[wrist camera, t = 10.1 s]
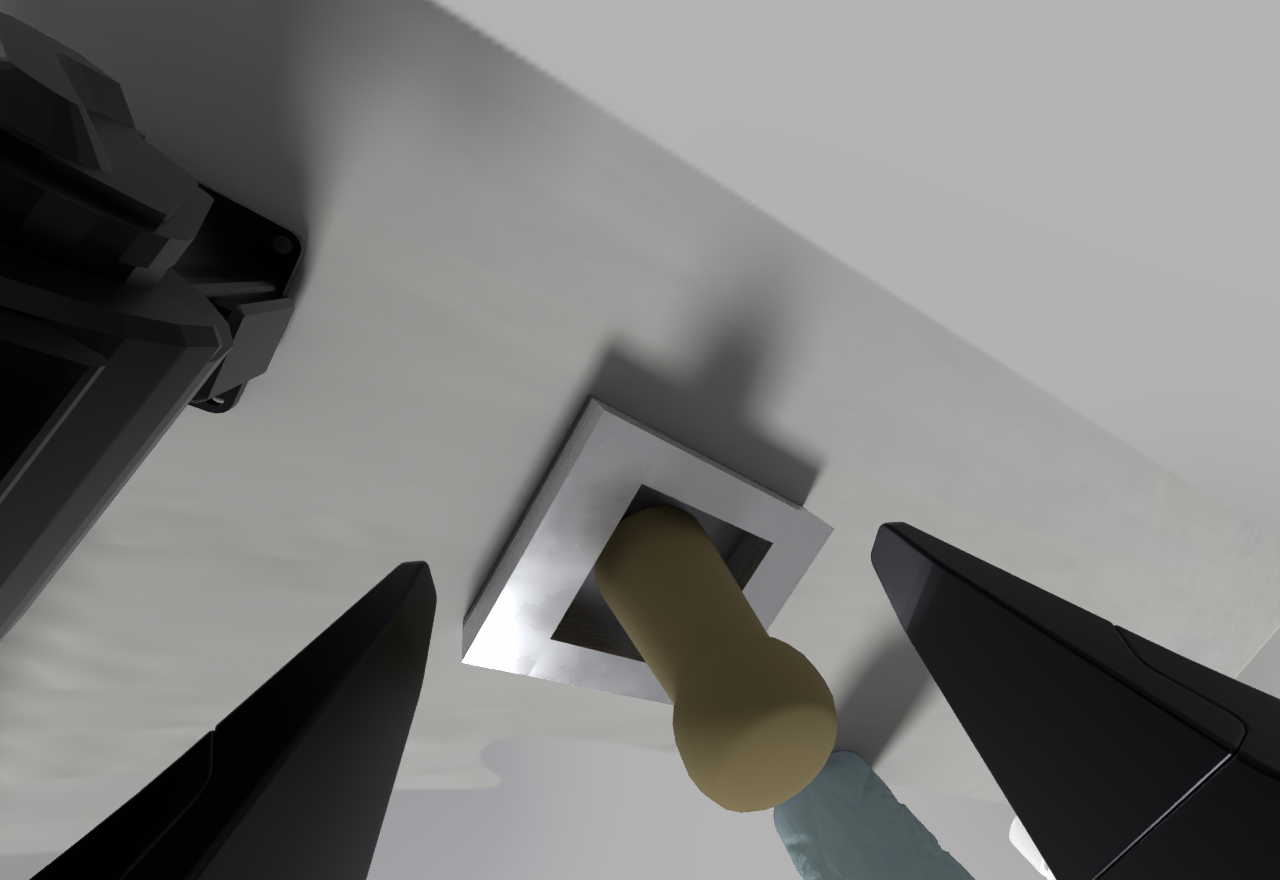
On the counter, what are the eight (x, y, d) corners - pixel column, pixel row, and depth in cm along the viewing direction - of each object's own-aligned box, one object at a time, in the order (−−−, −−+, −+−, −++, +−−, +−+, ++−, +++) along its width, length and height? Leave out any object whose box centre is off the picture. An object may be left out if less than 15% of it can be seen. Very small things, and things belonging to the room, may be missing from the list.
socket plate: (462, 621, 21) (461, 673, 19) (589, 394, 20) (609, 414, 17) (692, 677, 28) (717, 722, 25) (803, 506, 26) (842, 534, 23)
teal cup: (749, 851, 36) (867, 1097, 25) (785, 751, 33) (934, 979, 22) (850, 822, 40) (990, 1026, 29) (889, 730, 37) (1061, 917, 26)
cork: (704, 492, 23) (878, 657, 13) (712, 590, 25) (865, 793, 15) (584, 526, 21) (680, 742, 12) (604, 628, 24) (699, 880, 14)
